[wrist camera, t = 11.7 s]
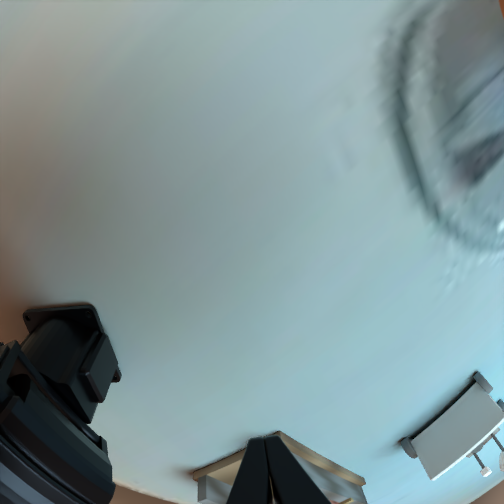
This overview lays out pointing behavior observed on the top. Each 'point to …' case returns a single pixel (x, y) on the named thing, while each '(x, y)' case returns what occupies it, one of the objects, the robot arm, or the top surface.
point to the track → (224, 473)
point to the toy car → (459, 432)
